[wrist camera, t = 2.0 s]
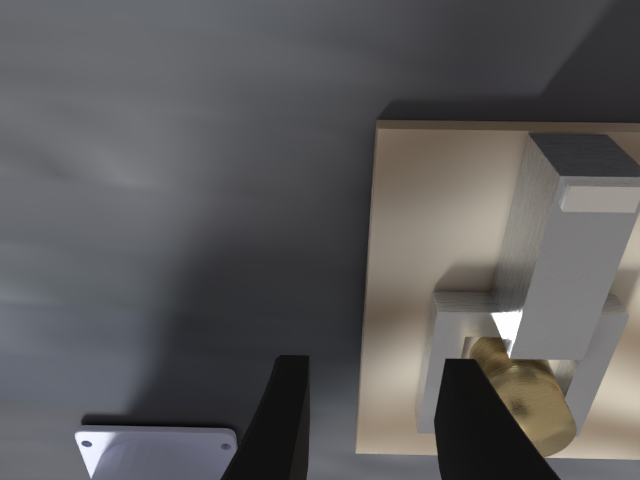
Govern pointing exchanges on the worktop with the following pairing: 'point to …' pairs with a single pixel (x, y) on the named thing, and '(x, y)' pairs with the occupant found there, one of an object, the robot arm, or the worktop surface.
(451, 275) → the board
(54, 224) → the worktop surface
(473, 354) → the post
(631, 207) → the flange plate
